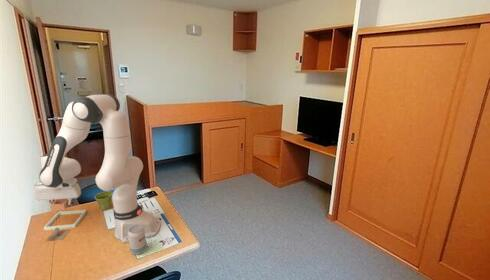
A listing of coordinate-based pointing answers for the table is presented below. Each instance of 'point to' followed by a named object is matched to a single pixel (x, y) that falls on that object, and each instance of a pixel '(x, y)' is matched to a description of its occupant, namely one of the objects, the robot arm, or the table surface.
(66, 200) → the orange frame with handle
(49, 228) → the tray
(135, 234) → the beverage can
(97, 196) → the plant pot
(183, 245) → the table surface
